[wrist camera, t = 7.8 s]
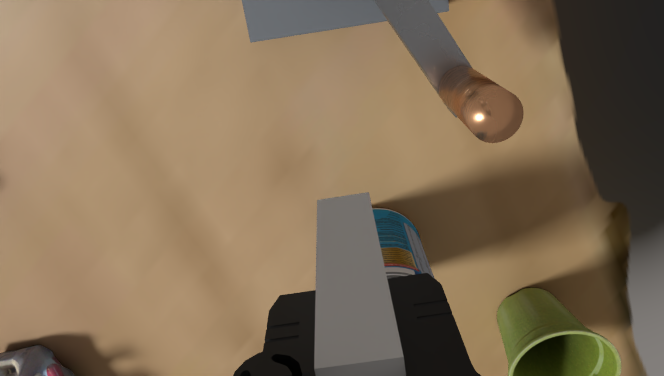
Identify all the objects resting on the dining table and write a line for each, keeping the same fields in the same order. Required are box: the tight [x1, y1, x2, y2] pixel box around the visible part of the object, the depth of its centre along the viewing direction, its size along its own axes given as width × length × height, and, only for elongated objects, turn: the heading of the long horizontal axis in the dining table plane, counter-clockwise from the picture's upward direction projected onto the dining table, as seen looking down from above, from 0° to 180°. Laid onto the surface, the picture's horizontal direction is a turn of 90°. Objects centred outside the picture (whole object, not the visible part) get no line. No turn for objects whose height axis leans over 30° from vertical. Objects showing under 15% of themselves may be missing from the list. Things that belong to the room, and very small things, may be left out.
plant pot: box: [497, 288, 621, 376], centre depth 45 cm, size 9×9×9 cm
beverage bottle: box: [372, 208, 434, 278], centre depth 37 cm, size 8×8×20 cm
